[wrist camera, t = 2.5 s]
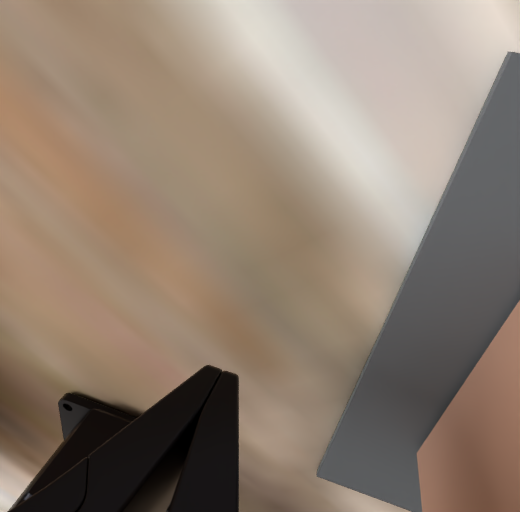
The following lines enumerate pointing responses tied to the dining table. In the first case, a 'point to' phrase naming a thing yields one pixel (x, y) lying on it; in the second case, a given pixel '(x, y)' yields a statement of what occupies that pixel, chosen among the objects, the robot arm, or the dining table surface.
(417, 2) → the dining table surface
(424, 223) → the dining table surface
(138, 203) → the dining table surface
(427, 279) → the mat
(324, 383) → the dining table surface
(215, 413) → the robot arm
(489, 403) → the deck
